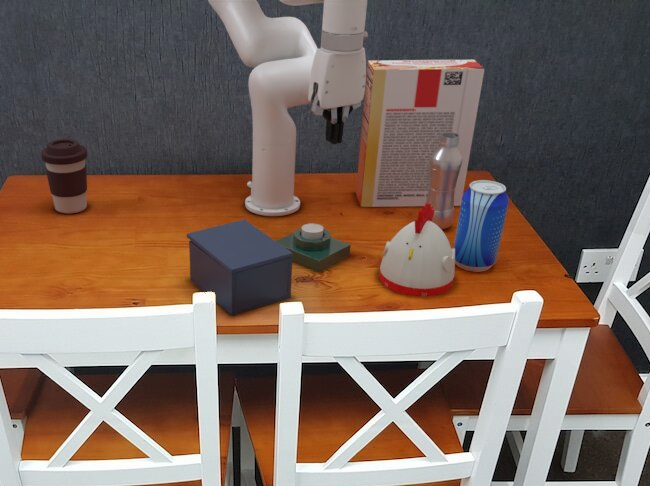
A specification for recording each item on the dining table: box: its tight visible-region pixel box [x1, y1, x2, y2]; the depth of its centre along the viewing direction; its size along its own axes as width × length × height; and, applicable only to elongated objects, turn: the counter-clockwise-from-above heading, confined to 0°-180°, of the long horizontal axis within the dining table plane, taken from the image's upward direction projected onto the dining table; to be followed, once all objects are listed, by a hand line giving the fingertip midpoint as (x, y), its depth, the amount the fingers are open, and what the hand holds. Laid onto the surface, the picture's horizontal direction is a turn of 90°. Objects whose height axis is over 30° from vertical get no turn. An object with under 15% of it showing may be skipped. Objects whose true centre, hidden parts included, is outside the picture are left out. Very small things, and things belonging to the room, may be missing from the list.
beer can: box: [453, 179, 510, 273], centre depth 151 cm, size 8×8×16 cm
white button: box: [301, 222, 325, 240], centre depth 156 cm, size 4×4×2 cm
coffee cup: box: [40, 138, 88, 215], centre depth 175 cm, size 10×10×15 cm
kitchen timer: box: [378, 203, 456, 298], centre depth 146 cm, size 14×14×15 cm
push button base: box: [275, 227, 351, 273], centre depth 158 cm, size 12×10×4 cm
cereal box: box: [355, 59, 485, 208], centre depth 174 cm, size 23×8×30 cm, turn 91°
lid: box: [186, 219, 293, 273], centre depth 143 cm, size 16×13×1 cm
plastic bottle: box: [426, 132, 462, 230], centre depth 164 cm, size 6×7×20 cm
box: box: [188, 240, 293, 317], centre depth 145 cm, size 16×13×8 cm
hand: (333, 141), depth 151 cm, fingers closed
